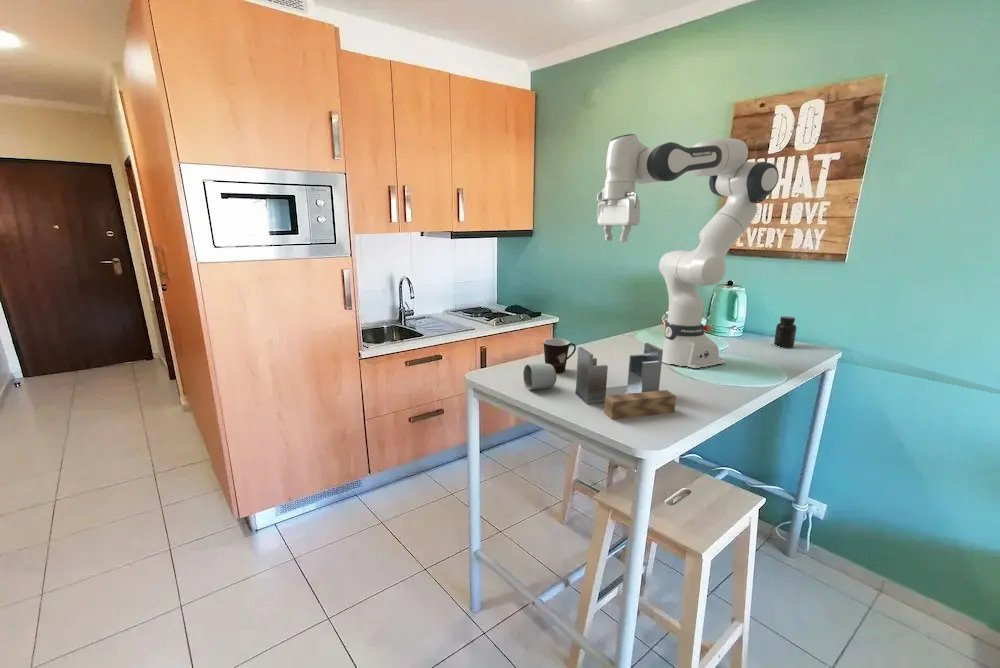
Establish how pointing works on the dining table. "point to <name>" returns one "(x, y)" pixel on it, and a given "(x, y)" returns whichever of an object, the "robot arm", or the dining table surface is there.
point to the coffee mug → (557, 353)
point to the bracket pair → (640, 375)
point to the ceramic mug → (539, 376)
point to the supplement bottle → (785, 332)
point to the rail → (639, 404)
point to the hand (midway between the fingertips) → (615, 241)
